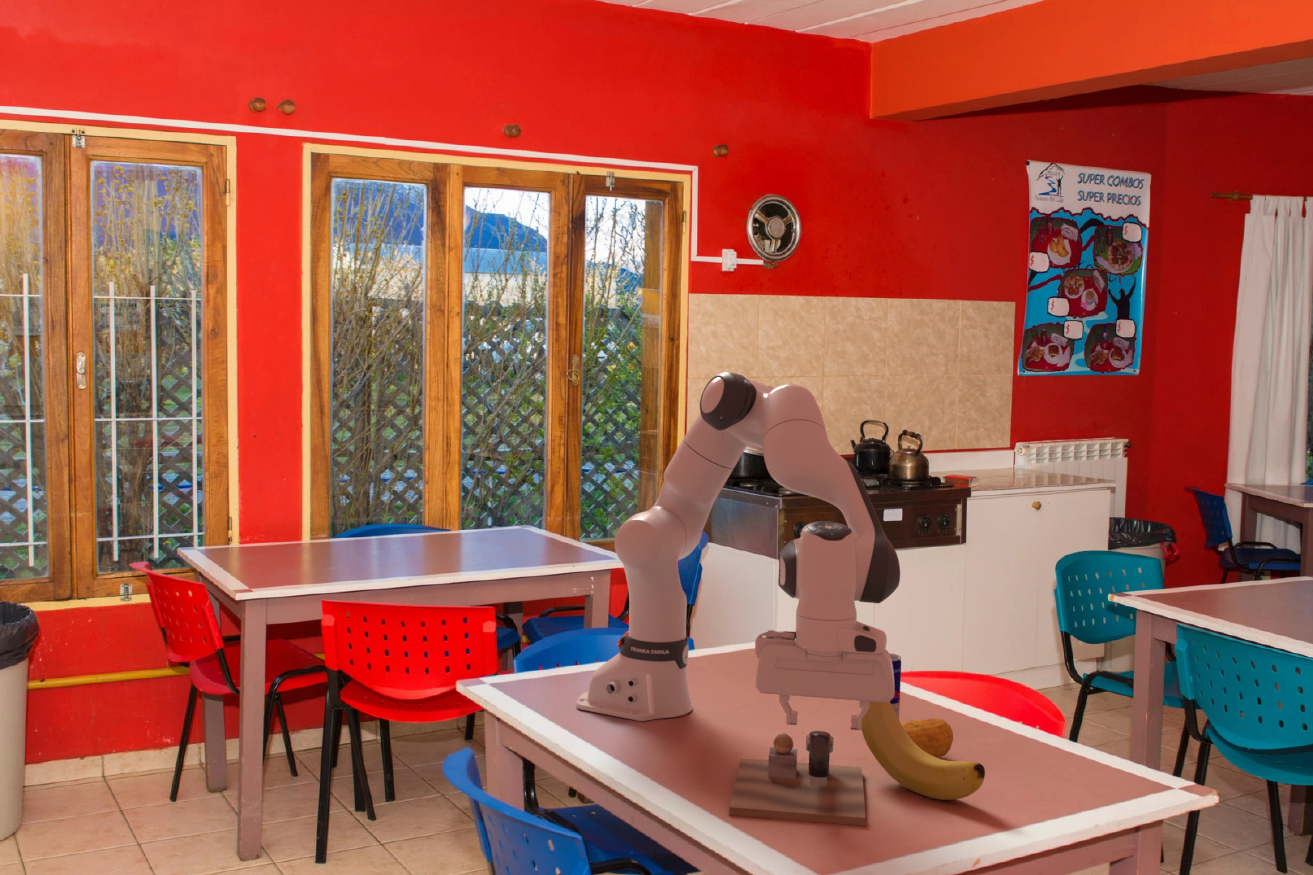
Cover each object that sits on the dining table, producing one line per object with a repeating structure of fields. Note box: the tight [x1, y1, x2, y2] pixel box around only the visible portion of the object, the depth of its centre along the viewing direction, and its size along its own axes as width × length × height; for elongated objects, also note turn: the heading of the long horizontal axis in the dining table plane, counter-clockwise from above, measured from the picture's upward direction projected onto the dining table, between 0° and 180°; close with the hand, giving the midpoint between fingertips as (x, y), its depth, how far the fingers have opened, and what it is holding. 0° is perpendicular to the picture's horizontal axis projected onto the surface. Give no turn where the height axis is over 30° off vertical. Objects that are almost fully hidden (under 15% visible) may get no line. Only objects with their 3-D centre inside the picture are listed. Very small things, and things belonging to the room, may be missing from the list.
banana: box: [860, 701, 986, 801], centre depth 186 cm, size 23×6×20 cm, turn 43°
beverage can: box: [889, 652, 902, 720], centre depth 214 cm, size 5×5×15 cm
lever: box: [805, 730, 835, 786], centre depth 182 cm, size 21×4×8 cm, turn 171°
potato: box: [900, 718, 954, 759], centre depth 201 cm, size 7×14×7 cm, turn 117°
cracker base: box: [728, 733, 867, 827], centre depth 184 cm, size 22×20×8 cm
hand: (823, 726), depth 173 cm, fingers open, 8 cm apart
